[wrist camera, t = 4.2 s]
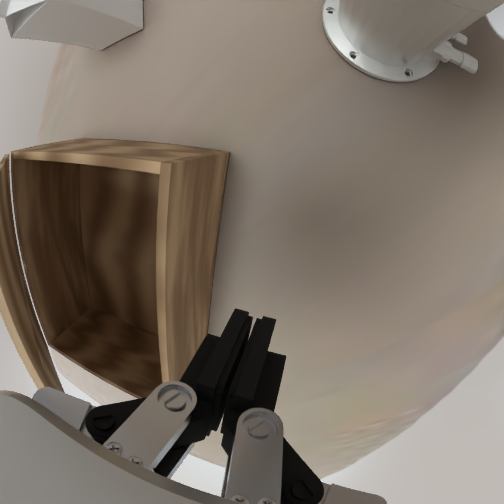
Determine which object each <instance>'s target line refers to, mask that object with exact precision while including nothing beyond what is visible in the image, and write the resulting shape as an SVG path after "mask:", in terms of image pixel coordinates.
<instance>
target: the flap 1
mask: <svg viewBox="0 0 504 504" xmlns="http://www.w3.org/2000/svg"><path fill="white" fill-rule="evenodd" d="M0 313H1V315H2V318H3V320H4V322H5V325H6V327H7V330H8V332H9V334H10V337H11V339H12V340H13V343H14V345H15V347H16V349H17V351H18V353H19V355H20V357H21V359H22V361H23V363H24V365H25V367H26V369H27V370H28V372H29V374H30V376H31V377H32V379H33V381H34V383H35V384H36V386H37V388H38V390H39V389H41V388H43V387H50V386H49V383H48V381H47V378H46V375H45V372H44V369H43V366H42V362H41V359H40V356H39V352H38V349H37V345H36V341H35V338H34V334H33V329H32V325H31V321H30V316H29V311H28V306H27V300H26V295H25V288H24V281H23V274H22V265H21V261H20V255H19V251H18V245H17V240H16V234H15V227H14V220H13V213H12V203H11V193H10V177H9V154H6V155H5V156H4V157H3V159H2V161H1V162H0Z"/></svg>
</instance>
